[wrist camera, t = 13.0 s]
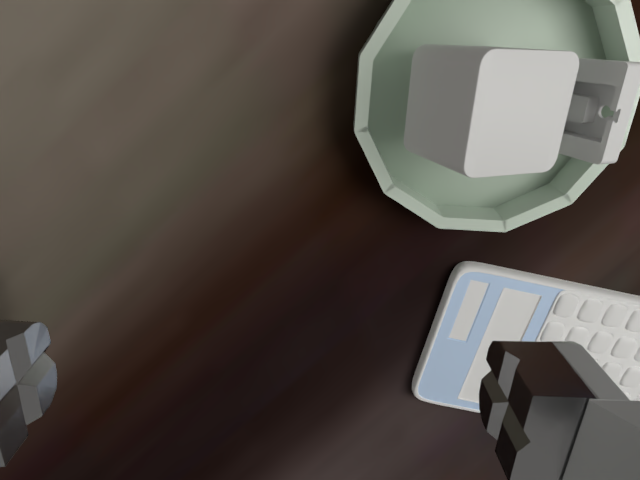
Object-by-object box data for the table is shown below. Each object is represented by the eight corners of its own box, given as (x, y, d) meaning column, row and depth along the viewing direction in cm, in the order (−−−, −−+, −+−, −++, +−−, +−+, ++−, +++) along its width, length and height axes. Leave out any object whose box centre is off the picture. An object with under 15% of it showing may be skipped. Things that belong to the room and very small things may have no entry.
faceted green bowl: (575, 220, 35) (597, 237, 32) (347, 207, 35) (347, 223, 32) (648, -44, 28) (684, -53, 25) (366, -56, 28) (368, -67, 26)
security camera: (546, 48, 31) (412, 43, 27) (648, 54, 25) (495, 48, 22) (525, 145, 33) (401, 152, 30) (614, 171, 28) (472, 184, 24)
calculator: (622, 430, 43) (634, 447, 41) (406, 387, 42) (409, 403, 40) (699, 305, 38) (717, 318, 36) (454, 254, 37) (460, 264, 35)
